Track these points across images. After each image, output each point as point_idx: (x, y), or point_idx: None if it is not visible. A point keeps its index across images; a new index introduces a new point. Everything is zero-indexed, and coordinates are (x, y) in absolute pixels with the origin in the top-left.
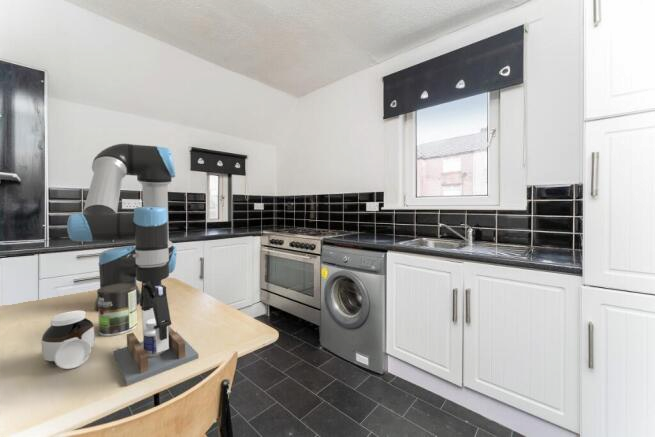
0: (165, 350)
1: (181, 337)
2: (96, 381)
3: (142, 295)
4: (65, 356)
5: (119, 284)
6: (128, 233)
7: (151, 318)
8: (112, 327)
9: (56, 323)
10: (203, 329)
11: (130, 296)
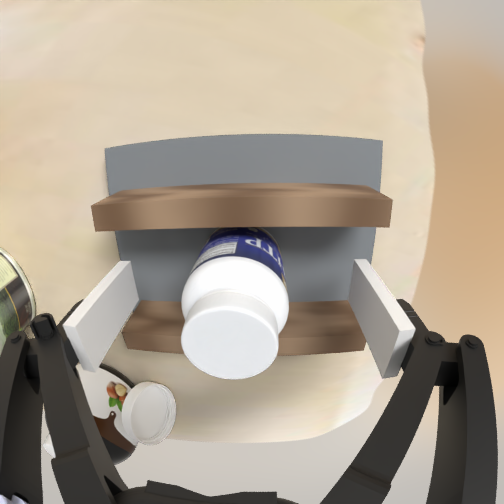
0: (265, 230)
1: (178, 141)
2: (269, 375)
3: (40, 440)
4: (152, 419)
5: None
6: None
7: (102, 306)
8: (22, 321)
9: None
10: (137, 42)
11: None
